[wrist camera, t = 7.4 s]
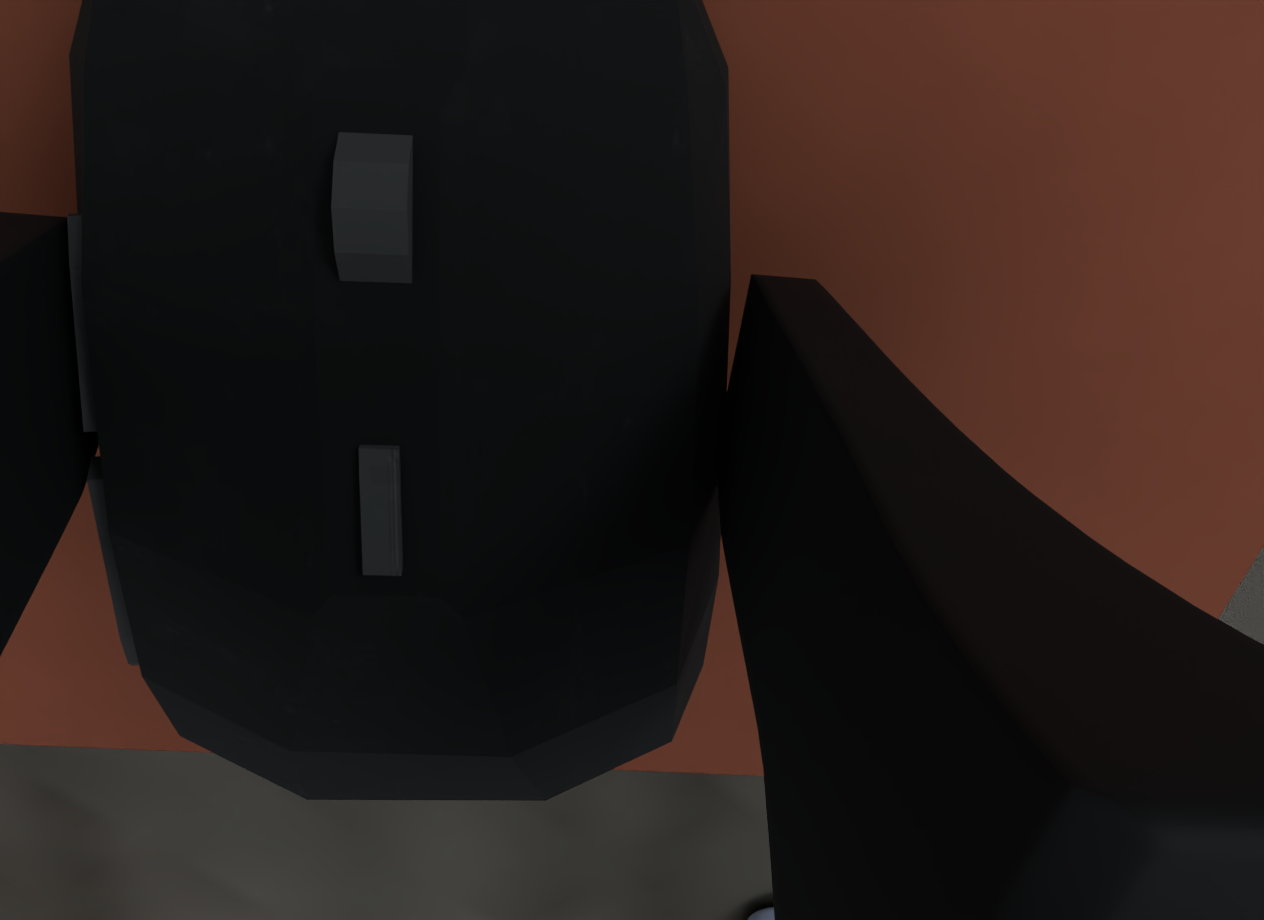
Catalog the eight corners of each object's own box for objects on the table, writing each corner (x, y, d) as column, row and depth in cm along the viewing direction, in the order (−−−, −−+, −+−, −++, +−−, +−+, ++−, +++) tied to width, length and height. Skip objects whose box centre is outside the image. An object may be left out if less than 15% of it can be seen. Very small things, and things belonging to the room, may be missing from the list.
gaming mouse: (872, -745, 7) (1073, -897, 4) (675, 717, 17) (694, 991, 14) (-159, -843, 7) (-725, -1082, 4) (228, 712, 17) (147, 992, 13)
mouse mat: (1101, 770, 19) (1110, 792, 18) (-307, 708, 17) (-324, 731, 16) (2017, -726, 8) (2073, -732, 8) (-1617, -1398, 6) (-1737, -1448, 6)
